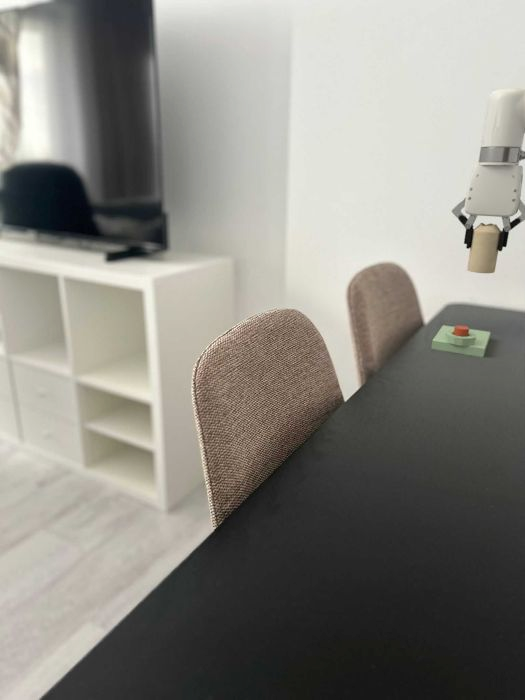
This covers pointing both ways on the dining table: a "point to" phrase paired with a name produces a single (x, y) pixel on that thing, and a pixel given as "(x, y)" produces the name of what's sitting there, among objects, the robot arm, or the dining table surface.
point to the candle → (484, 248)
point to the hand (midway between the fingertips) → (484, 248)
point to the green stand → (461, 341)
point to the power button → (461, 331)
